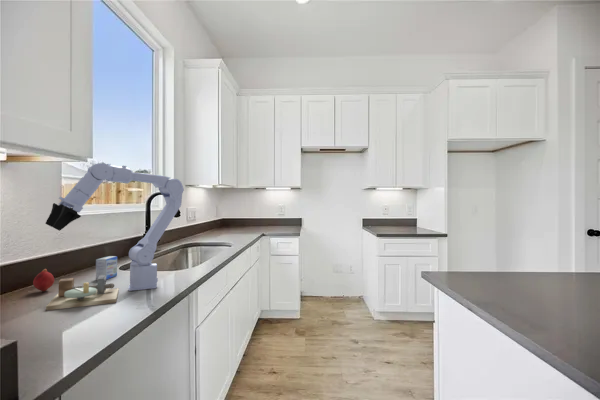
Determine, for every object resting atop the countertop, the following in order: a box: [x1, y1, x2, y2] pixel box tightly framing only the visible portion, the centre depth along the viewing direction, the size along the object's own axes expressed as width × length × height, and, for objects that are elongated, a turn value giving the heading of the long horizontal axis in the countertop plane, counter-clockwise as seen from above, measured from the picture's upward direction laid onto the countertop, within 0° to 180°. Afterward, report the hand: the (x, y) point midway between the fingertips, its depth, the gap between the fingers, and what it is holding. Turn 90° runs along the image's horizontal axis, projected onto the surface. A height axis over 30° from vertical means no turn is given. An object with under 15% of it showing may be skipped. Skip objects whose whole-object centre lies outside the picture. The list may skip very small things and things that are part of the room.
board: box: [45, 287, 120, 311], centre depth 103 cm, size 18×14×1 cm
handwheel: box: [64, 282, 97, 300], centre depth 100 cm, size 8×8×6 cm
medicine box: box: [95, 255, 118, 281], centre depth 134 cm, size 8×4×9 cm, turn 179°
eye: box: [96, 275, 107, 295], centre depth 108 cm, size 2×6×5 cm, turn 27°
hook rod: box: [57, 277, 115, 297], centre depth 106 cm, size 16×4×5 cm, turn 117°
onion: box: [32, 268, 55, 292], centre depth 112 cm, size 6×6×8 cm
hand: (52, 227), depth 100 cm, fingers open, 7 cm apart
